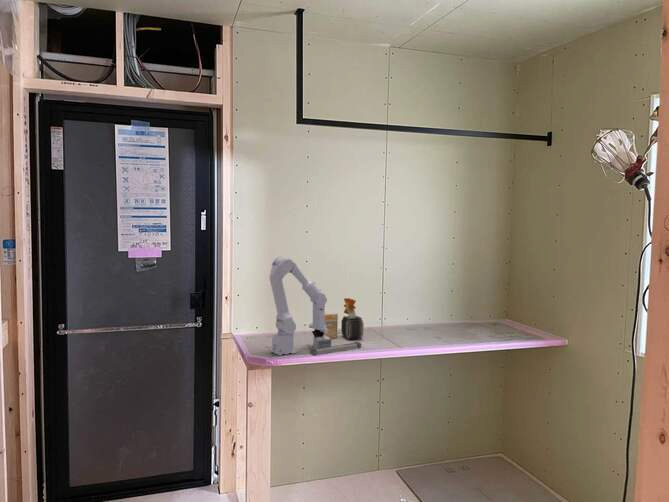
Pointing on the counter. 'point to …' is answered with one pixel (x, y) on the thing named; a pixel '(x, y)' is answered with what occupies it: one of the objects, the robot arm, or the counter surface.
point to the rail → (335, 348)
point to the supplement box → (331, 324)
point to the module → (321, 342)
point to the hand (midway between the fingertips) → (318, 345)
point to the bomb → (351, 322)
